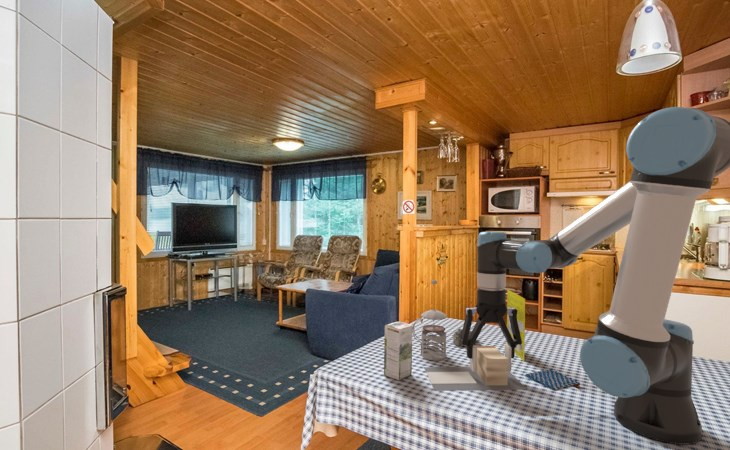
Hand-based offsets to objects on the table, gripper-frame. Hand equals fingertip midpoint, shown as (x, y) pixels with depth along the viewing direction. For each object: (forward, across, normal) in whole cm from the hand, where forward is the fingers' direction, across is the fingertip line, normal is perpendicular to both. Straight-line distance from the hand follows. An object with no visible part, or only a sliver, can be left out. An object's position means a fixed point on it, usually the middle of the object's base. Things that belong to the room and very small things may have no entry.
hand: (490, 369), depth 105 cm
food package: (+3, -15, -19) cm, 24 cm away
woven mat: (+4, -16, +2) cm, 17 cm away
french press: (+3, +13, -17) cm, 22 cm away
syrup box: (+3, +25, -4) cm, 26 cm away
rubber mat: (+3, +5, 0) cm, 6 cm away
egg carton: (+3, -2, -32) cm, 32 cm away
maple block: (+2, 0, 0) cm, 2 cm away
